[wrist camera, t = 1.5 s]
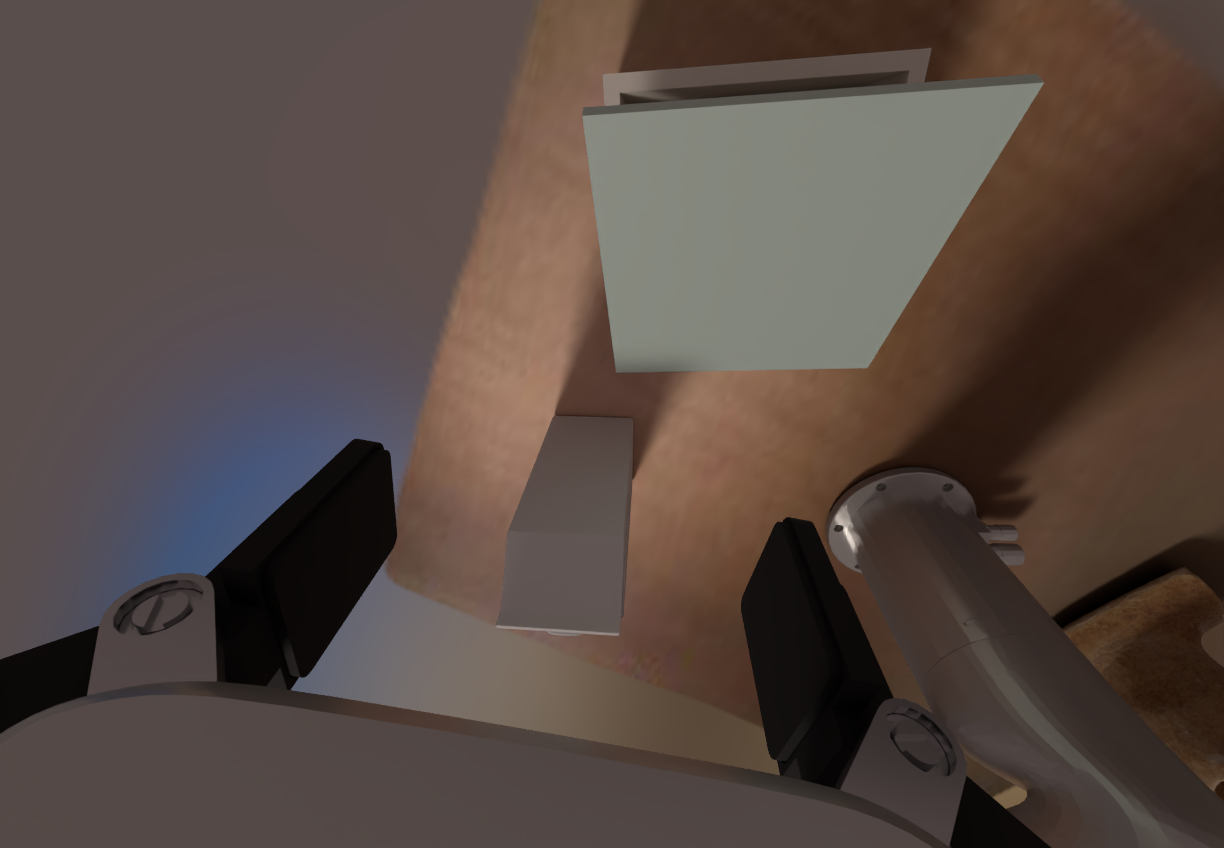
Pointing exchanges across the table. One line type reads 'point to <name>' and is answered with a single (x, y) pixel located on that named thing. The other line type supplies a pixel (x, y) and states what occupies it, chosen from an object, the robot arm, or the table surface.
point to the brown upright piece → (1164, 665)
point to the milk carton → (572, 531)
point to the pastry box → (767, 77)
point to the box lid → (784, 216)
